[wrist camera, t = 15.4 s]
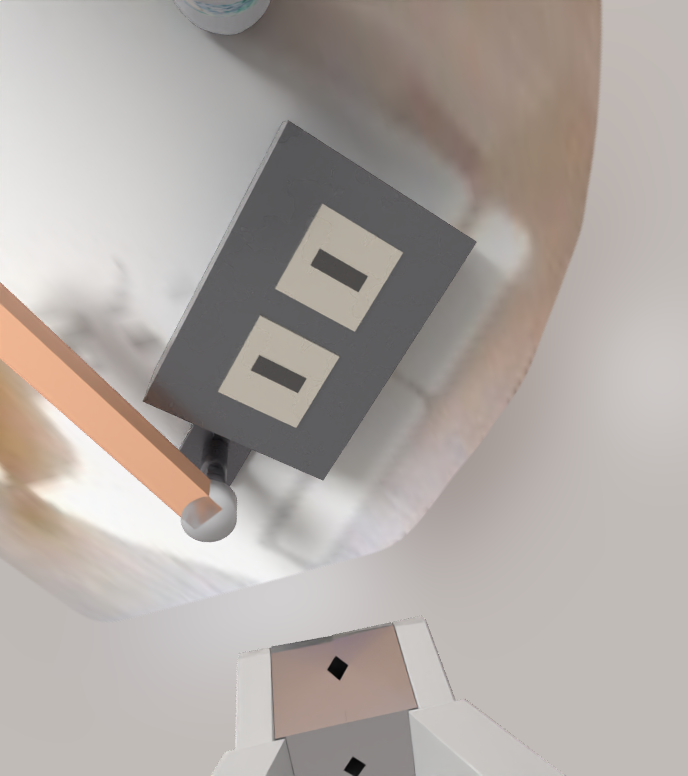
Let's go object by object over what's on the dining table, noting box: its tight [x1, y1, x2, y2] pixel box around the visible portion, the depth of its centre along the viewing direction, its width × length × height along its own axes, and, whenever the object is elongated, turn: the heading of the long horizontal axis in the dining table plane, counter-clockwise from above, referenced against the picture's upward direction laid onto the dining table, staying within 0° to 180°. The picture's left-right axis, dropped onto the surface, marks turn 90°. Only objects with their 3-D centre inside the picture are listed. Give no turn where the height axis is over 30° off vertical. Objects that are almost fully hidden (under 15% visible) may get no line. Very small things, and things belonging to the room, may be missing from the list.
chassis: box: [143, 121, 476, 480], centre depth 42 cm, size 14×20×6 cm
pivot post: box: [179, 424, 251, 487], centre depth 46 cm, size 5×5×8 cm
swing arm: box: [0, 283, 237, 542], centre depth 37 cm, size 25×4×2 cm, turn 37°
